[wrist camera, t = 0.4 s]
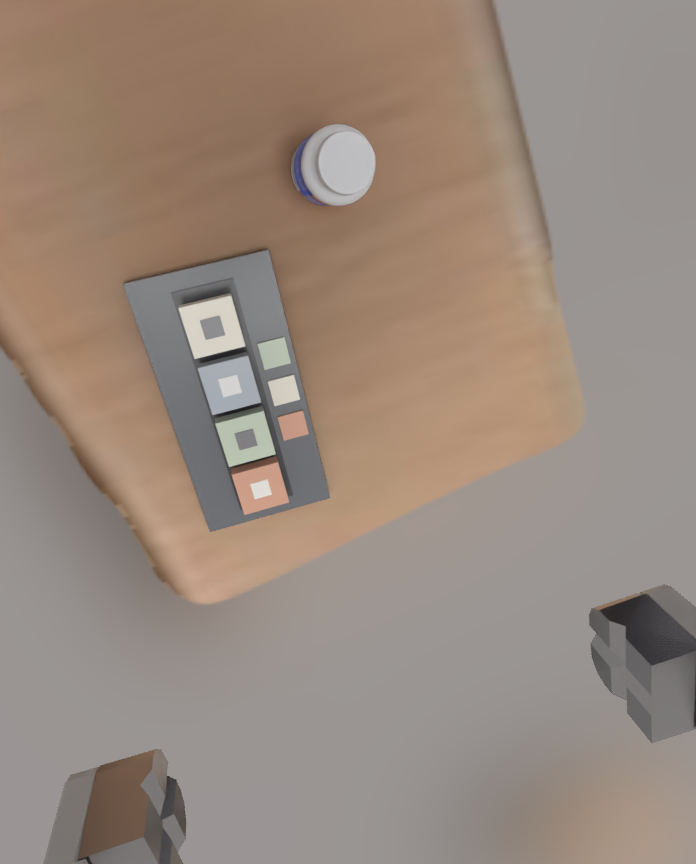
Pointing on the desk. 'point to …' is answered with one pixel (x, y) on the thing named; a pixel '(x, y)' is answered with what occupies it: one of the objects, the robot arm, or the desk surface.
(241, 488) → the terracotta key
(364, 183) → the pill bottle
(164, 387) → the keypad base
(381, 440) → the desk surface
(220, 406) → the slate key
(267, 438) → the sage key
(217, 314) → the cream key
